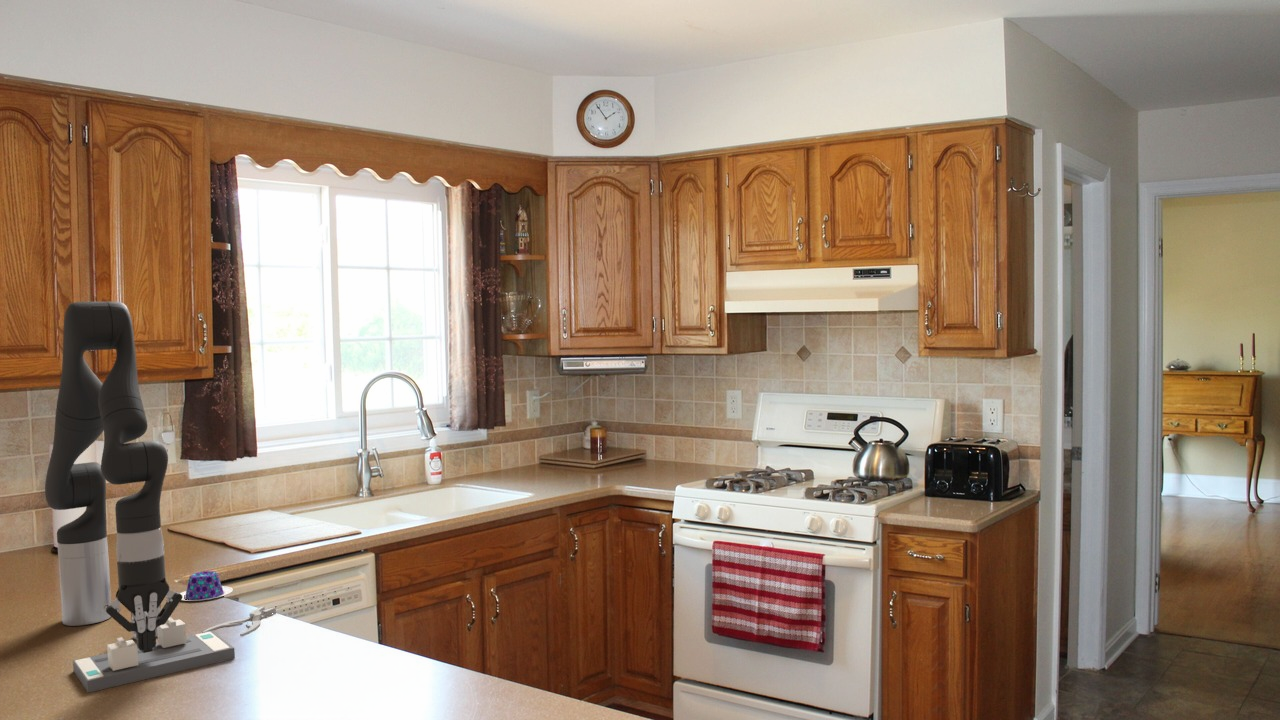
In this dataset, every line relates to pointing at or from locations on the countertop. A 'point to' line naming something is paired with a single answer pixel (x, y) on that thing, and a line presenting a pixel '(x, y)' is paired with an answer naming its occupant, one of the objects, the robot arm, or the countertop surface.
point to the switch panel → (154, 662)
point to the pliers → (254, 616)
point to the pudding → (204, 587)
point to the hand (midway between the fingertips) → (146, 651)
